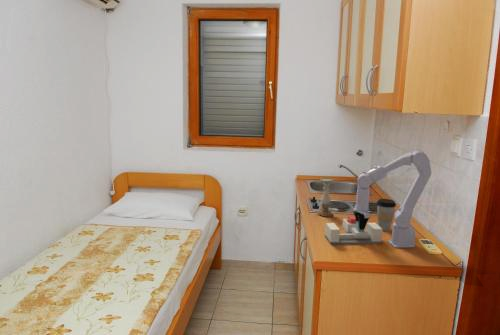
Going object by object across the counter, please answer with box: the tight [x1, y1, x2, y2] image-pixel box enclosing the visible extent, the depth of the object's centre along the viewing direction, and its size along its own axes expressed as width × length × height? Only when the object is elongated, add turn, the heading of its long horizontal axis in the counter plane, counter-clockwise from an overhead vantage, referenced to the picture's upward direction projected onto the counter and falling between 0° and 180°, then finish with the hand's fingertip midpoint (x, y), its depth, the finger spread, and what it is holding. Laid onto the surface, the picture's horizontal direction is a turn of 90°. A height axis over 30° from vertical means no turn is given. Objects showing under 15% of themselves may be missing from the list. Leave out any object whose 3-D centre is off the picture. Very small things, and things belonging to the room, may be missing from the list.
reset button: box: [347, 215, 356, 224], centre depth 197 cm, size 4×4×4 cm
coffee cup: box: [375, 198, 397, 232], centre depth 200 cm, size 9×9×15 cm
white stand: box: [324, 222, 383, 246], centre depth 185 cm, size 24×10×7 cm, turn 94°
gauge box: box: [341, 218, 356, 234], centre depth 198 cm, size 8×8×5 cm
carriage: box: [351, 221, 369, 238], centre depth 185 cm, size 6×7×7 cm
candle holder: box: [316, 177, 334, 217], centre depth 222 cm, size 9×9×20 cm
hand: (360, 228), depth 185 cm, fingers closed on carriage, 3 cm apart
